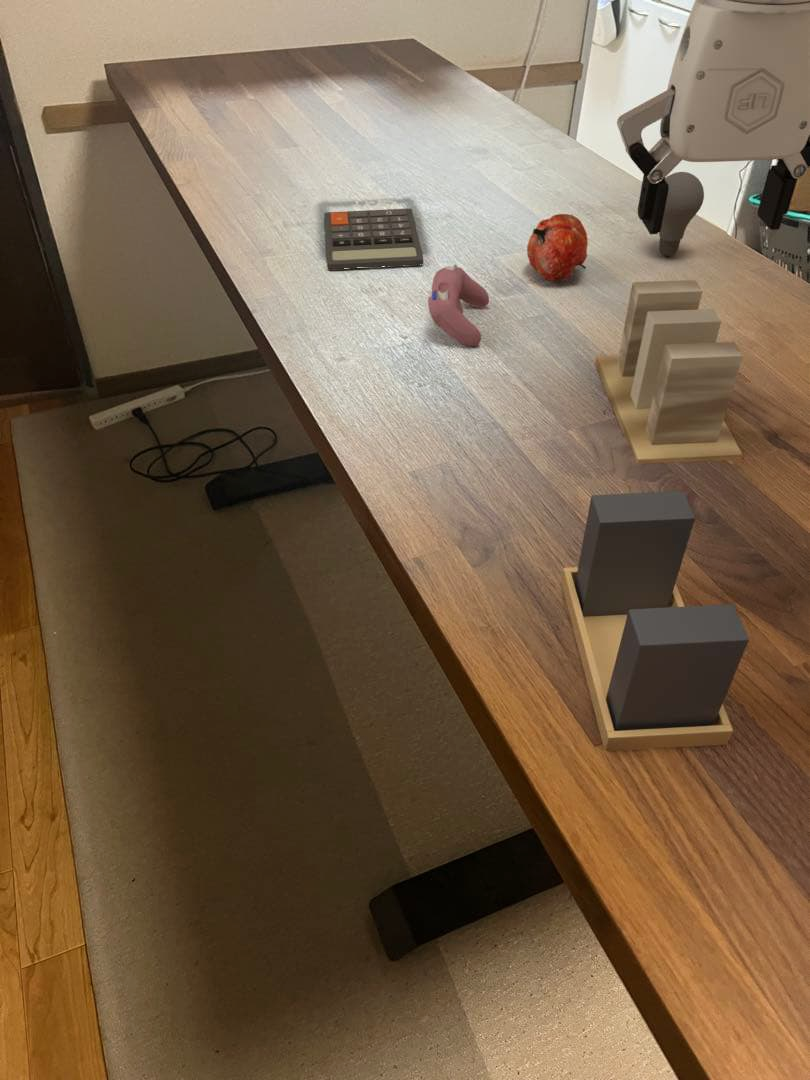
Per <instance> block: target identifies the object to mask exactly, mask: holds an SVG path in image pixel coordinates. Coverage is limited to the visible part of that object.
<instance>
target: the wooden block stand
mask: <svg viewBox="0 0 810 1080" xmlns="http://www.w3.org/2000/svg"><path fill="white" fill-rule="evenodd" d="M629 294H630V295H629V300H628V304H627V311H626V316H625V321H624V327H623V332H622V337H621V342H620V346H619V353H618V354H605V355H596V356H595V360H594V361H595V362H594V364H595V367H596V369H597V372H598V375H599V378H600V380H601V382H602V385H603V387H604V390H605V392H606V395H607V397H608V400H609V403H610V406H611V407H612V410H613V412H614V415H615V417H616V420H617V422H618V426H619V428H620V430H621V433H622V435H623V437H624V438H626V440H627V443H628V446H629V448H630V450H631V453H632V456H633V458H634V460H635V463H636V464H637V465H644V464H645V465H647V464H665V463H666V464H670V463H671V464H672V463H690V462H692V463H693V462H713V461H715V462H716V461H735V460H742V458H743V452H742V451H741V448H740V447H739V445H738V443H737V442H736V440H735V437H734V436H733V434H732V432H731V430H730V428H729V427H728V425H727V423H726V421H725V416H726V414H727V410H728V407H729V404H730V401H731V397H732V393H733V390H734V387H735V384H736V380H737V377H738V373H739V371H740V367H741V365H742V360H743V357H744V354H743V353H742V352H741V350H740V348H739V347H738V345H737V343H736V342H735V341H723V342H720V341H719V342H716V343H695V344H670V345H665V347H664V352H663V356H662V360H661V365H660V369H659V374H658V378H657V382H656V387H655V391H654V396H653V400H652V404H651V408H640V409H636V407H635V405H634V403H633V400H632V398H631V396H630V395H631V390H632V385H633V381H634V376H635V371H636V366H637V361H638V356H639V351H640V346H641V342H642V337H643V332H644V327H645V322H646V317H647V312H650V311H675V310H699V307H700V303H701V299H702V296H703V289H702V288H701V286H700V285H699V283H698V281H697V280H696V279H684V280H683V279H682V280H681V279H680V280H659V281H658V280H657V281H656V280H655V281H632V283H631V288H630V292H629Z"/></svg>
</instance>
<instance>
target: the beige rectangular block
mask: <svg viewBox="0 0 810 1080" xmlns="http://www.w3.org/2000/svg"><path fill="white" fill-rule="evenodd" d="M721 324H722V320H721V319H720V317H719V315H718V314H717V312H716V311H715V309H714V308H705V309H698V310H675V311H650V312H647V317H646V322H645V327H644V332H643V337H642V342H641V346H640V351H639V356H638V361H637V366H636V371H635V376H634V381H633V385H632V390H631V395H630V396H631V398H632V400H633V403H634V405H635V407H636V409H640V408H651V404H652V400H653V396H654V391H655V387H656V382H657V378H658V374H659V369H660V365H661V360H662V356H663V352H664V347H665V345H670V344H695V343H717V339H718V334H719V331H720V328H721Z"/></svg>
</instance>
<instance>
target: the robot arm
mask: <svg viewBox="0 0 810 1080" xmlns="http://www.w3.org/2000/svg"><path fill="white" fill-rule="evenodd" d="M659 120H660V124H659V134H660V139H658V141H657V142H656V143H655V144H654V145H653V146H652V148H650V150H648V148H646V146H645V145H644V141H643V138H642V132H643V131H644V129H645V128H647V127H649V126H651V125H652V124H654V123H656V122H658V121H659ZM616 125H617V128H618V131H619V135H620V137H621V140H622V144H623V145H624V147H625V149H624V150H625V152H626V153H627V155H628V157H629V158H630V159H631V161H632V162H633V163H634V164H635V166H636V167H637V168H638V169H639V171H641V173H642V174H643V177H642V182H641V187H640V193H639V199H638V206H637V217H638V219H639V220H640V221H642V223H643V225H644V226H645V228H646V230H647V231H648V233H649V234H650V235H659V232H660V231H661V226H662V221H663V216H664V211H665V206H666V200H667V195H668V190H669V185H668V183H667V182H666V181H665V178H666V177H667V176H669V175H670V173H671V172H672V171H673V170H674V169H675V168H676V167H677V166H678V165H679V164H680V163H681V162H682V161H685V162H689V163H717V162H719V163H720V162H721V163H722V162H723V163H725V162H749V161H770V160H777V162H776V164H774V165H773V164H772V165H771V166H770V168H769V169H768V172H767V175H766V179H765V182H764V186H763V190H762V194H761V197H760V201H759V205H758V208H757V217H759V219H760V220H761V221H762V222H763V223H764V224H765V225H766V227H767V228H768V229H770V230H771V231H772V230H773V231H775V230H780V228H781V225H782V221H783V219H784V215H786V214H788V212H789V210H790V206H791V202H792V199H793V196H794V193H795V189H796V186H797V182H798V180H799V179H802V178H804V177H805V176H806V174H807V173H808V169H809V168H810V0H694V3H693V5H692V8H691V11H690V13H689V16H688V19H687V21H686V24H685V26H684V29H683V33H682V36H681V38H680V41H679V45H678V48H677V51H676V54H675V58H674V62H673V64H672V69H671V73H670V77H669V80H668V84H667V89H666V90H665V91H663V92H661V93H659V94H658V95H656V96H654V97H652V98H650V99H648V100H646V101H645V102H643V103H641V104H639V105H637V106H635V107H634V108H632V109H630V110H628V111H627V112H625V113H623V114H621V115H619V116H618V118H617V120H616Z"/></svg>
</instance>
